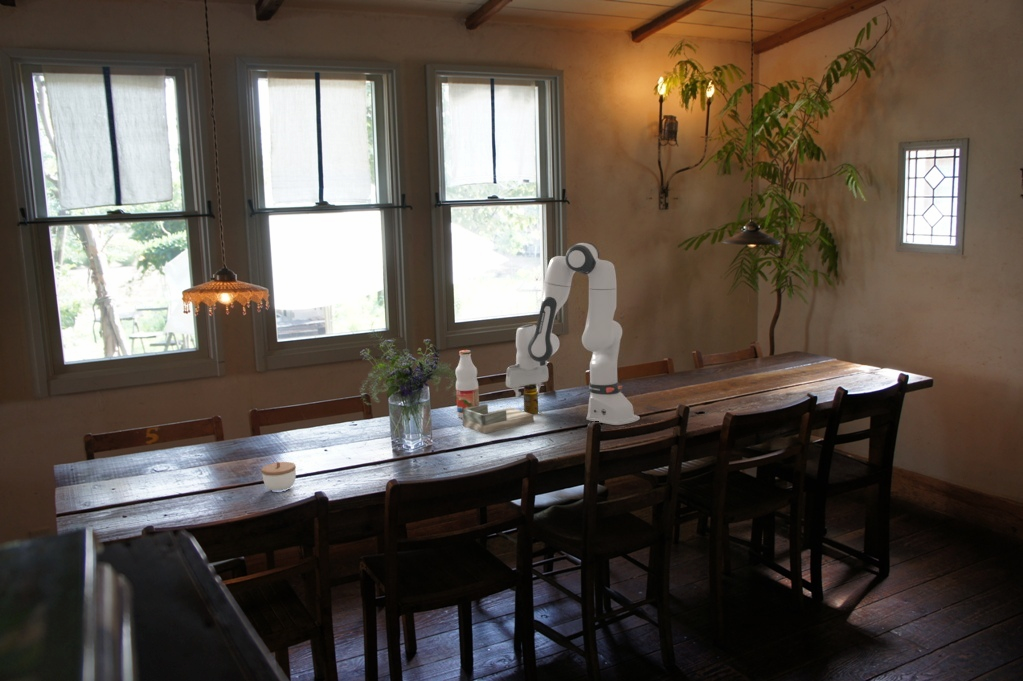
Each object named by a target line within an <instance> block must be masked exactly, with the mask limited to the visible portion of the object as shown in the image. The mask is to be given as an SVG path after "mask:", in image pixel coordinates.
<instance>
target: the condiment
mask: <svg viewBox="0 0 1023 681" xmlns="http://www.w3.org/2000/svg"><path fill="white" fill-rule="evenodd" d="M523 390H524V391H523V412H527V413H530V414H533V415H534V414H535V415H534V416H536V415H539V414H538V412H539V413H541V414H542V412H540V411H539V393H538V392H537V386H536V384H531V385H526V386H523Z"/></svg>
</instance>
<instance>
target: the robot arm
mask: <svg viewBox="0 0 1023 681" xmlns="http://www.w3.org/2000/svg"><path fill="white" fill-rule="evenodd" d="M615 268H616V267H615V265H614V263H613V262H611V261H609V260H605V259H600V252H599V250H598V248H597V246H595V245H594V244H593V243H590V242H579V243H576V244H574V245H572V246H571V247H569V248H568V249H567V251H566V254H565V256H562V255H556V256H554V257H552V258H551V259H550V260H549V263H548V264H547V268H546V270H545V276H544V280H543V287H542V295H541V301H540V302H541V303H540V309H539V314H538V319H537V322H536V324H534V323H528V324H523V325H521V326H519V327H518V328H517V329H516V334H515V348H516V356H515V362H516V363H515V364H514V365H509V366H508V367H507V368H506V377H505V386H506V387H507V388H508V389H509V388H510V389H512V390H513V391H514V392H515V397H516V398H520V397H522V392H521V391H519V390H520V387H524V386H526V385H531V384H533V385H536V386H537V392H538V394H539V393H540V389H541V387H542V383H545V382H548V381H549V368H548V366H547V365H548V360H549V359H550V358H551V357H552V356H553V355H554V354H555V353H556V352H558V350H559V349H560V345H561V343H560V338H559V337H558V336H557V335H556V334H555V333H554V332H552V331H553V326H554V321H555V318H556V315H557V314H558V313H559V310H560V309H561V308H562V307H563V306H564V304H566V302H567V300H568V298H569V295H570V292H571V287H572V281H573V276H574V274H575V273H580V274H582V275H586V276H588V308H587V309H588V310H587V314H586V315H587V316H586V319H585V320H586V321H585V327H584V331H583V334H582V336H581V343H582V346H583V347H584V349H586V350H587V351H589V352H592V355H591V359H590V362H589V383H588V389H589V390H588V391H589V393H590V394H589V398H588V409H587V416H586V421H592V422H595V421H599V422H598V423H600V424H601V423H602V424H607V425H612V426H613V425H614V426H621V425H626V424H632V423H635V422H638V421H639V420H640V419H641V418H640V416H639V415H636V414H634V406H633V404H632V403H631V401H630V400H628V398H627V397H626V396H625V395H624V393H622V388H623V385H620V382H618V357H619V353H620V346H621V339H622V336H623V328H622V326H621V324H620V323H619V322H617V321H616V320H614V316H615V313H616V312H615V311H616V309H617V293H618V292H617V288H618V287H617V276H616V269H615Z"/></svg>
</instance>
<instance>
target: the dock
mask: <svg viewBox="0 0 1023 681" xmlns="http://www.w3.org/2000/svg"><path fill="white" fill-rule="evenodd" d="M488 406H489V405H488V404H486V403H485V404H479V406H475V407H471V408H466V409H463V418H461V420H462V426H463V427H465V428H469V429H471V430H474V431H477V432H479V433H482V434H489V433H493V432H496V431H501V430H504V429H509V428H514V427H519V426H522V425H526V424H530V422H531V423H534V422H535V420H534V416H535V415H533V414H530V413H527V412H523V411H524V410H523V411H522V410H520V409H516V408H512V407H508V408H503V409H498V410H495V411H490V412H489V407H488Z"/></svg>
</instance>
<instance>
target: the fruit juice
mask: <svg viewBox="0 0 1023 681" xmlns="http://www.w3.org/2000/svg"><path fill="white" fill-rule="evenodd" d="M458 354H459V356H460V357H459V361H458V363H457V367H455V373H454V374H455V376H456V381H455V393H456V412H457V417H458V418H460V419H462V418H463V409H466V408H471V407H475V406H480V395H479V394H480V393H479V382H478V379H477V376H478V369H477V367H476V366H475V365H474V363H473V361H472V357H471V355H472V351H471V350H469V349H463V350H459V352H458Z"/></svg>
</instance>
